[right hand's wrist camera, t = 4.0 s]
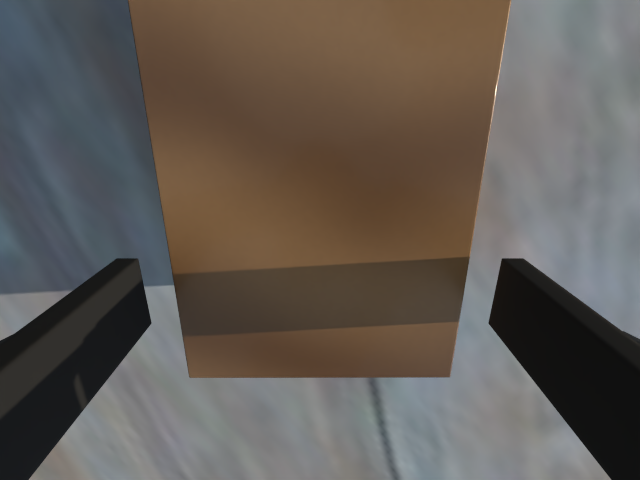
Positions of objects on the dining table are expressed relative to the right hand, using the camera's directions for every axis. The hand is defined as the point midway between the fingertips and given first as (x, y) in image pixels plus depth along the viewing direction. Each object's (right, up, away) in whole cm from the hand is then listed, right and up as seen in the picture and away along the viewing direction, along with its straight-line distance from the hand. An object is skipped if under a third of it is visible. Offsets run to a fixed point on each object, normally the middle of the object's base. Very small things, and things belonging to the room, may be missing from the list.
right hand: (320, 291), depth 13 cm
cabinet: (0, +9, +8) cm, 12 cm away
